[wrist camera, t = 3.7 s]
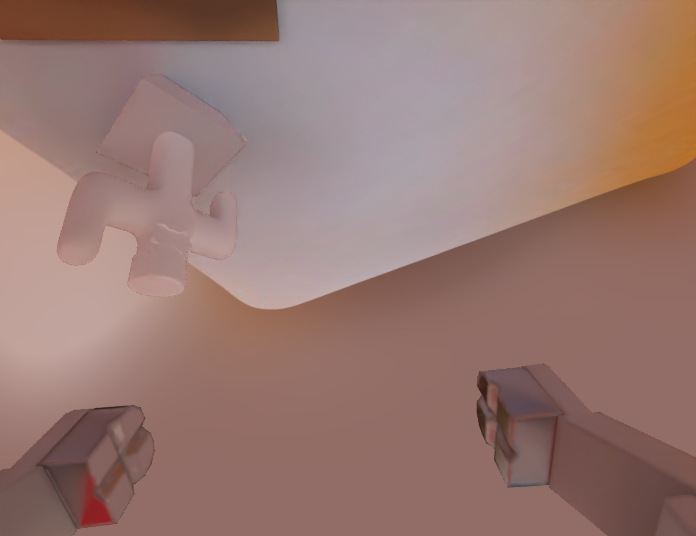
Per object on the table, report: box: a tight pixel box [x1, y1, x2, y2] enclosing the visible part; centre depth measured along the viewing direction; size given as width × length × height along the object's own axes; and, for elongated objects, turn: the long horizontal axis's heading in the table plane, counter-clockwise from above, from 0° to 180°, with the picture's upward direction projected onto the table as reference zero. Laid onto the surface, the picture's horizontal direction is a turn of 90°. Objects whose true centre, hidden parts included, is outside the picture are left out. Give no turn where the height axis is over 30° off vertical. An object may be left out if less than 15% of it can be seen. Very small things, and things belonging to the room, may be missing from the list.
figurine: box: [57, 75, 248, 297], centre depth 23 cm, size 7×9×15 cm
